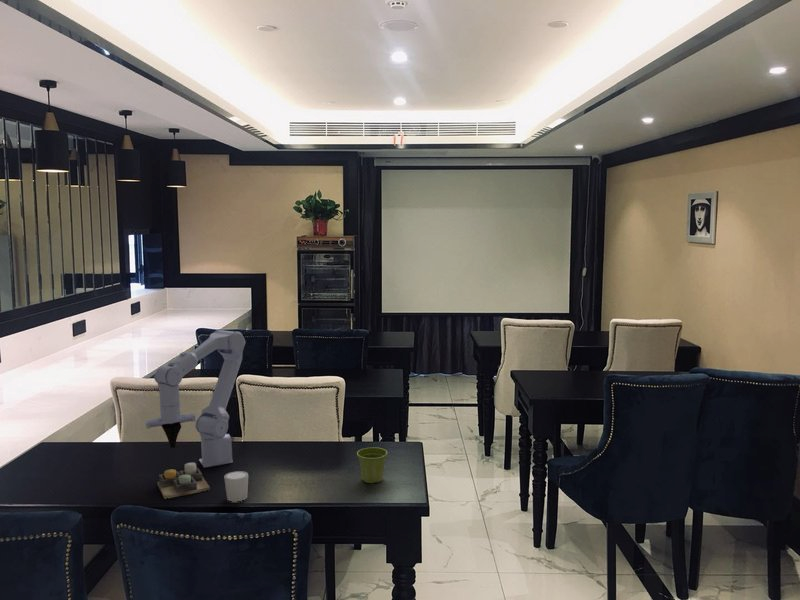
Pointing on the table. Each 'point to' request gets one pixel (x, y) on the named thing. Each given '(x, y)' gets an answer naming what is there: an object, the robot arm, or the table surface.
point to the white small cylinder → (190, 468)
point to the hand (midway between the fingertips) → (172, 446)
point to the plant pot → (372, 463)
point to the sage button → (184, 479)
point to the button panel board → (173, 488)
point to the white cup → (236, 485)
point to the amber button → (170, 474)
